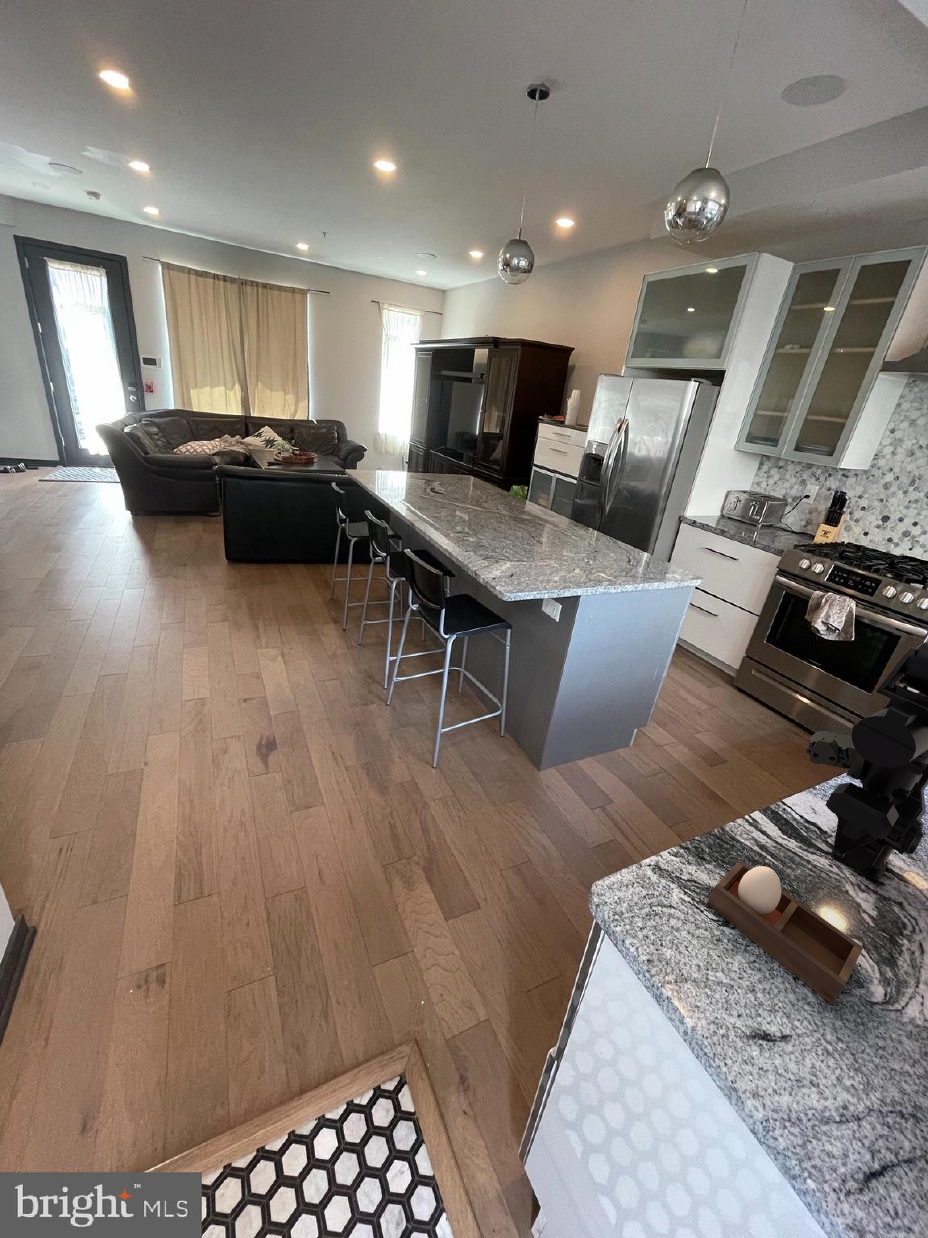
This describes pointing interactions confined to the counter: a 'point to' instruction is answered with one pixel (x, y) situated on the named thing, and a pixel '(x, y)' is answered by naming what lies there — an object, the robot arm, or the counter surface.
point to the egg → (760, 890)
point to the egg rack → (791, 936)
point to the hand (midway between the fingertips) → (848, 836)
